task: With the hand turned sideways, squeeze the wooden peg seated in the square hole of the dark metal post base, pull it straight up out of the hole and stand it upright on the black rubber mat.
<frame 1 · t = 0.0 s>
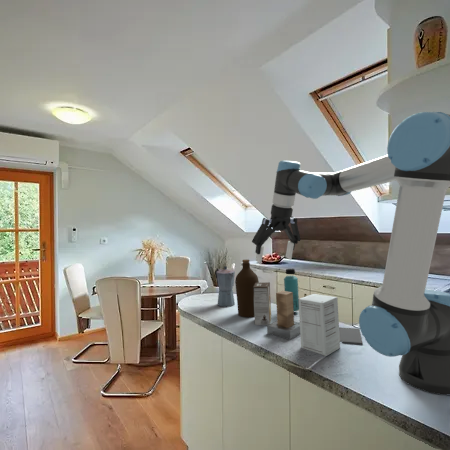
hand: (273, 259, 119), 28 cm above the counter, tool tilted 20°, fingers open, 13 cm apart
coffee box: (263, 323, 133), on the counter
beverage bottle: (292, 313, 145), on the counter
post base: (286, 333, 119), on the counter
olive oil: (248, 314, 145), on the counter
rubber mat: (342, 335, 114), on the counter
wooden peg: (286, 332, 119), resting on post base
moka pot: (225, 305, 164), on the counter
supplement box: (320, 349, 104), on the counter
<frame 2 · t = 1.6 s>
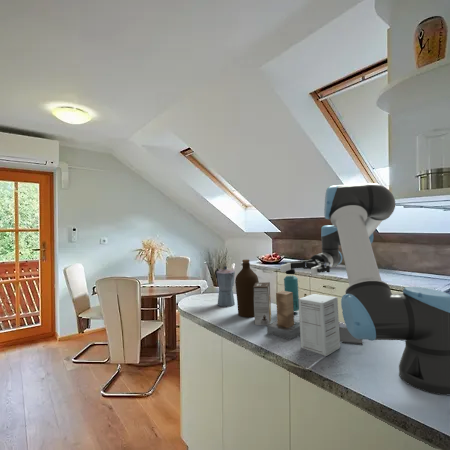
hand: (296, 270, 125), 23 cm above the counter, tool horizontal, fingers open, 13 cm apart
nothing on the counter moved.
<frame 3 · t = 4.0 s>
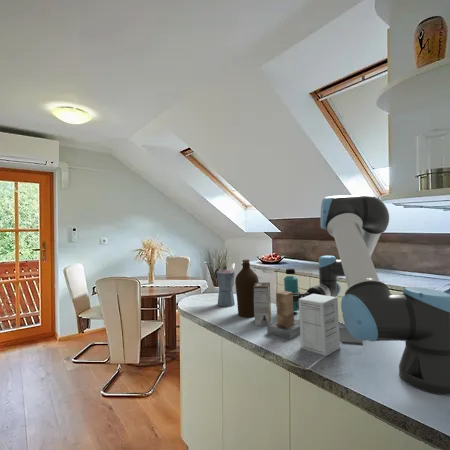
hand: (291, 305, 123), 9 cm above the counter, tool horizontal, fingers open, 13 cm apart
nothing on the counter moved.
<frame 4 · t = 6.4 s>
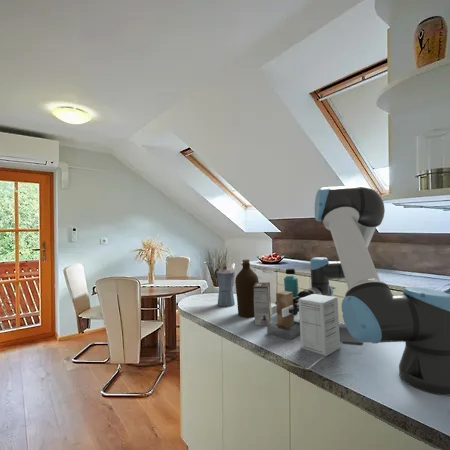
hand: (276, 312, 115), 9 cm above the counter, tool horizontal, fingers closed on wooden peg, 4 cm apart
wooden peg: (286, 332, 119), point 1 cm above the counter, touching gripper, post base
everything else where it was.
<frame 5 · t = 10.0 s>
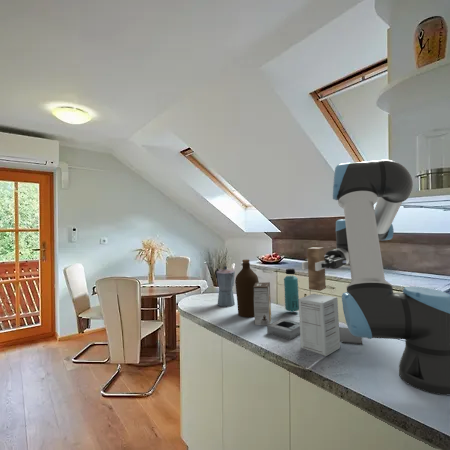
hand: (309, 266, 112), 26 cm above the counter, tool horizontal, fingers closed on wooden peg, 4 cm apart
wooden peg: (317, 288, 116), point 17 cm above the counter, touching gripper
everything else where it was.
when the fingers open (11 cm above the counter, at t = 14.1 s): wooden peg drops 1 cm, resting on rubber mat.
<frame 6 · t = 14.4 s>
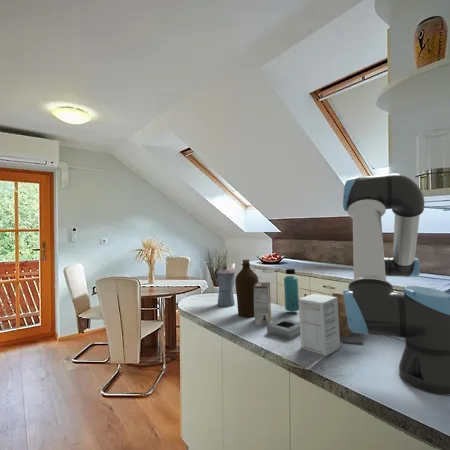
hand: (336, 308, 111), 11 cm above the counter, tool horizontal, fingers open, 9 cm apart
wooden peg: (342, 334, 114), point 1 cm above the counter, touching rubber mat
everything else where it was.
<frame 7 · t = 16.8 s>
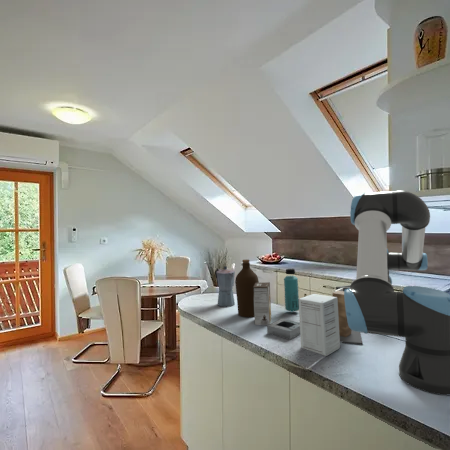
hand: (352, 296, 121), 12 cm above the counter, tool horizontal, fingers open, 13 cm apart
nothing on the counter moved.
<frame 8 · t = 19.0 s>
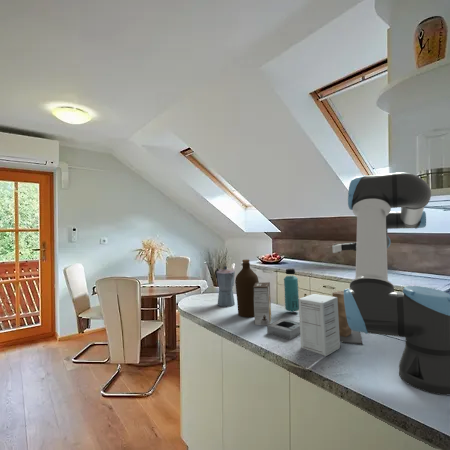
hand: (350, 249, 121), 30 cm above the counter, tool horizontal, fingers open, 13 cm apart
nothing on the counter moved.
at the end: wooden peg inside the target area on the rubber mat (0.1 cm from its centre), point 0.6 cm above the rubber mat's base; wooden peg tilted 0°; the gripper is holding nothing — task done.
